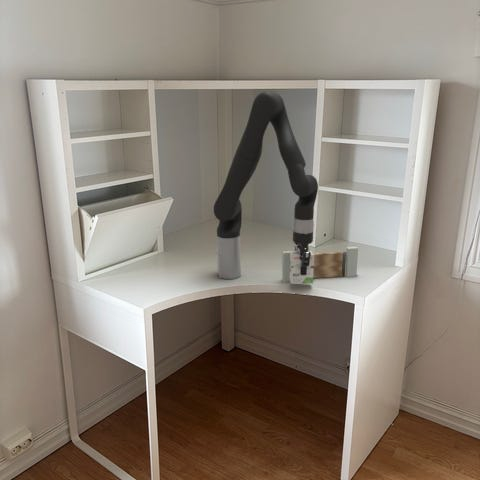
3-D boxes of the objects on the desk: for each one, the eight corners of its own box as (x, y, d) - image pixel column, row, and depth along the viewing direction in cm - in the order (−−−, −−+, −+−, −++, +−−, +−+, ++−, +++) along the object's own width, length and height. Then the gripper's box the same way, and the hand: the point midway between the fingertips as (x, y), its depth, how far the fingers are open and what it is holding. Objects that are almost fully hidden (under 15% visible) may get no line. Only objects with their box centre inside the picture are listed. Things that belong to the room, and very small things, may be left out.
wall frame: (283, 281, 194) (283, 253, 190) (282, 279, 196) (282, 251, 192) (356, 276, 198) (358, 248, 194) (354, 274, 200) (356, 246, 196)
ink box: (310, 278, 191) (312, 250, 187) (313, 283, 186) (314, 254, 182) (288, 279, 191) (289, 250, 187) (290, 284, 186) (291, 255, 182)
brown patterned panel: (297, 278, 196) (298, 255, 192) (296, 276, 198) (297, 253, 195) (345, 276, 198) (346, 252, 194) (343, 273, 200) (344, 250, 197)
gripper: (288, 224, 188) (287, 265, 193) (298, 235, 174) (296, 279, 180) (307, 223, 189) (305, 264, 194) (318, 235, 175) (316, 278, 181)
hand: (301, 271), depth 187 cm, fingers closed on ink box, 5 cm apart
